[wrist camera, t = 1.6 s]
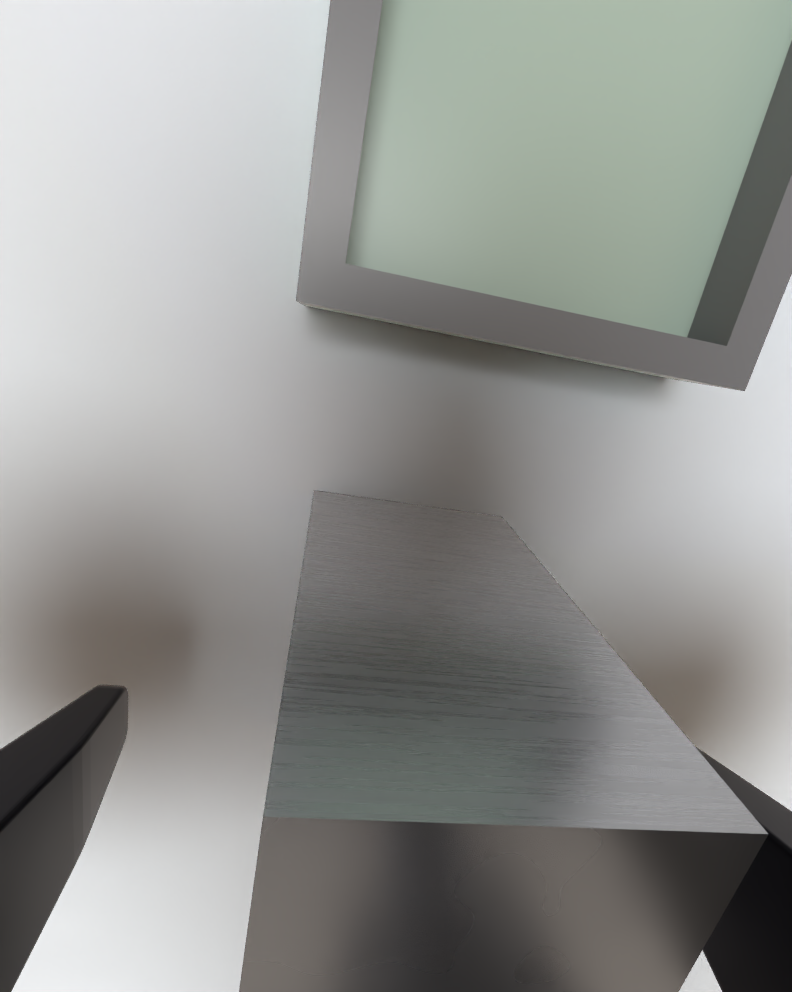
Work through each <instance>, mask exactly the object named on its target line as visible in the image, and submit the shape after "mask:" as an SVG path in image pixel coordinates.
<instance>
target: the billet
mask: <svg viewBox="0 0 792 992" xmlns="http://www.w3.org/2000/svg"><path fill="white" fill-rule="evenodd" d="M767 836H768V833H767V832H766V831H765V829H764V828H763V827H762V826H761V825H760V823H759V822H758V821H757V820H756V819H755V818H754V816H753V815H752V814H751V813H750V812H749V810H748V809H747V808H746V807H745V806H744V804H743V803H742V802H741V801H740V800H739V798H738V797H737V796H736V795H735V794H734V793H733V791H732V790H731V789H730V788H729V787H728V785H727V784H726V783H725V782H724V781H723V779H722V778H721V777H720V776H719V775H718V773H717V772H716V771H715V770H714V769H713V767H712V766H711V765H710V764H709V763H708V762H707V760H706V759H705V758H704V757H703V756H702V754H701V753H700V752H699V751H698V750H697V748H696V747H695V746H694V745H693V744H692V742H691V741H690V740H689V739H688V738H687V737H686V735H685V734H684V733H683V732H682V731H681V729H680V728H679V727H678V726H677V725H676V723H675V722H674V721H673V720H672V719H671V717H670V716H669V715H668V714H667V713H666V712H665V710H664V709H663V708H662V707H661V706H660V704H659V703H658V702H657V701H656V700H655V698H654V697H653V696H652V695H651V694H650V692H649V691H648V690H647V689H646V688H645V686H644V685H643V684H642V683H641V682H640V681H639V679H638V678H637V677H636V676H635V675H634V673H633V672H632V671H631V670H630V669H629V667H628V666H627V665H626V664H625V663H624V661H623V660H622V659H621V658H620V657H619V656H618V654H617V653H616V652H615V651H614V650H613V648H612V647H611V646H610V645H609V644H608V642H607V641H606V640H605V639H604V638H603V636H602V635H601V634H600V633H599V632H598V631H597V629H596V628H595V627H594V626H593V625H592V623H591V622H590V621H589V620H588V619H587V617H586V616H585V615H584V614H583V613H582V611H581V610H580V609H579V608H578V607H577V605H576V604H575V603H574V602H573V601H572V600H571V598H570V597H569V596H568V595H567V594H566V592H565V591H564V590H563V589H562V588H561V586H560V585H559V584H558V583H557V582H556V580H555V579H554V578H553V577H552V576H551V575H550V573H549V572H548V571H547V570H546V569H545V567H544V566H543V565H542V564H541V563H540V561H539V560H538V559H537V558H536V557H535V555H534V554H533V553H532V552H531V551H530V550H529V548H528V547H527V546H526V545H525V544H524V542H523V541H522V540H521V539H520V538H519V536H518V535H517V534H516V533H515V532H514V530H513V529H512V528H511V527H510V526H509V524H508V523H507V522H506V521H505V520H504V519H503V517H500V516H493V515H486V514H479V513H472V512H465V511H458V510H451V509H444V508H436V507H429V506H422V505H415V504H408V503H401V502H394V501H387V500H380V499H372V498H365V497H358V496H351V495H344V494H337V493H330V492H323V491H316V490H314V494H313V500H312V507H311V513H310V519H309V526H308V532H307V539H306V545H305V551H304V558H303V564H302V571H301V577H300V584H299V590H298V596H297V603H296V609H295V616H294V622H293V628H292V635H291V641H290V648H289V654H288V661H287V667H286V673H285V680H284V686H283V693H282V699H281V705H280V712H279V718H278V725H277V731H276V737H275V744H274V750H273V757H272V763H271V770H270V776H269V782H268V789H267V795H266V802H265V808H264V814H263V821H262V829H261V836H260V843H259V851H258V858H257V865H256V872H255V880H254V887H253V894H252V902H251V909H250V916H249V923H248V931H247V938H246V945H245V953H244V960H243V967H242V974H241V982H240V989H239V992H678V991H679V990H680V988H681V986H682V984H683V983H684V981H685V979H686V977H687V976H688V974H689V972H690V970H691V969H692V967H693V965H694V963H695V962H696V960H697V958H698V956H699V955H700V953H701V951H702V949H703V948H704V946H705V944H706V942H707V941H708V939H709V937H710V936H711V934H712V932H713V930H714V929H715V927H716V925H717V923H718V922H719V920H720V918H721V916H722V915H723V913H724V911H725V909H726V908H727V906H728V904H729V902H730V901H731V899H732V897H733V895H734V894H735V892H736V890H737V888H738V887H739V885H740V883H741V881H742V880H743V878H744V876H745V874H746V873H747V871H748V869H749V867H750V866H751V864H752V862H753V860H754V859H755V857H756V855H757V853H758V852H759V850H760V848H761V846H762V845H763V843H764V841H765V839H766V838H767Z"/></svg>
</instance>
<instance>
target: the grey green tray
mask: <svg viewBox="0 0 792 992" xmlns="http://www.w3.org/2000/svg"><path fill="white" fill-rule="evenodd" d="M791 274H792V0H331V1H330V10H329V19H328V27H327V36H326V45H325V53H324V62H323V71H322V79H321V88H320V97H319V105H318V114H317V123H316V131H315V140H314V149H313V157H312V166H311V175H310V183H309V192H308V201H307V210H306V218H305V227H304V236H303V244H302V253H301V262H300V270H299V279H298V288H297V296H296V301H297V302H299V303H301V304H303V305H305V306H309V307H314V308H319V309H324V310H329V311H334V312H339V313H344V314H349V315H354V316H359V317H364V318H369V319H374V320H379V321H384V322H389V323H394V324H399V325H404V326H409V327H414V328H419V329H424V330H429V331H434V332H439V333H444V334H449V335H454V336H459V337H464V338H469V339H474V340H479V341H484V342H489V343H494V344H499V345H504V346H509V347H514V348H519V349H524V350H529V351H534V352H539V353H543V354H548V355H553V356H558V357H563V358H568V359H573V360H578V361H583V362H588V363H593V364H598V365H603V366H608V367H613V368H618V369H623V370H628V371H633V372H638V373H643V374H648V375H653V376H658V377H663V378H669V379H675V380H681V381H687V382H693V383H699V384H705V385H711V386H717V387H723V388H729V389H735V390H741V391H745V389H746V387H747V384H748V382H749V379H750V377H751V374H752V372H753V369H754V367H755V364H756V362H757V359H758V357H759V354H760V352H761V349H762V347H763V344H764V342H765V339H766V337H767V334H768V332H769V329H770V327H771V324H772V322H773V319H774V317H775V314H776V312H777V309H778V307H779V304H780V302H781V299H782V297H783V294H784V292H785V289H786V287H787V284H788V282H789V279H790V277H791Z"/></svg>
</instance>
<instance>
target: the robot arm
mask: <svg viewBox="0 0 792 992" xmlns="http://www.w3.org/2000/svg"><path fill="white" fill-rule="evenodd" d="M127 728H128V691H127V689H126V688H125V687H124V686H114V685H99V686H96V687H94V688H93V689H91V690H90V691H88V692H87V693H85V694H84V695H82V696H81V697H79V698H78V699H76V700H75V701H73V702H71V703H70V704H68V705H67V706H65V707H64V708H62V709H61V710H59V711H58V712H56V713H55V714H53V715H52V716H50V717H49V718H47V719H46V720H44V721H43V722H41V723H40V724H38V725H36V726H35V727H33V728H32V729H30V730H29V731H27V732H26V733H24V734H23V735H21V736H20V737H18V738H17V739H15V740H14V741H12V742H11V743H9V744H8V745H6V746H5V747H3V748H2V749H0V992H11V991H12V989H13V987H14V985H15V983H16V981H17V979H18V977H19V975H20V973H21V972H22V970H23V968H24V966H25V964H26V962H27V960H28V958H29V956H30V954H31V952H32V950H33V948H34V946H35V944H36V942H37V940H38V938H39V936H40V934H41V932H42V930H43V928H44V926H45V924H46V922H47V920H48V918H49V916H50V914H51V912H52V910H53V908H54V906H55V904H56V902H57V900H58V898H59V896H60V894H61V892H62V890H63V888H64V886H65V884H66V882H67V880H68V878H69V876H70V874H71V872H72V870H73V868H74V866H75V864H76V862H77V860H78V858H79V856H80V854H81V852H82V849H83V847H84V845H85V842H86V840H87V838H88V835H89V833H90V830H91V828H92V825H93V822H94V820H95V817H96V815H97V812H98V810H99V807H100V804H101V802H102V799H103V797H104V794H105V791H106V789H107V786H108V784H109V781H110V779H111V776H112V773H113V771H114V768H115V766H116V763H117V760H118V758H119V755H120V753H121V750H122V748H123V745H124V742H125V739H126V734H127ZM696 748H697V747H696ZM697 750H698V751H699V752H700V753H701V754H702V756H703V757H704V758H705V759H706V760H707V762H708V763H709V764H710V765H711V766H712V767H713V769H714V770H715V771H716V772H717V773H718V775H719V776H720V777H721V778H722V779H723V781H724V782H725V783H726V784H727V785H728V787H729V788H730V789H731V790H732V791H733V793H734V794H735V795H736V796H737V797H738V798H739V800H740V801H741V802H742V803H743V804H744V806H745V807H746V808H747V809H748V810H749V812H750V813H751V814H752V815H753V816H754V818H755V819H756V820H757V821H758V822H759V823H760V825H761V826H762V827H763V828H764V829H765V831H766V832H767V833H768V836H767V838H766V839H765V841H764V843H763V845H762V846H761V848H760V850H759V852H758V853H757V855H756V857H755V859H754V860H753V862H752V864H751V866H750V867H749V869H748V871H747V873H746V874H745V876H744V878H743V880H742V881H741V883H740V885H739V887H738V888H737V890H736V892H735V894H734V895H733V897H732V899H731V901H730V902H729V904H728V906H727V908H726V909H725V911H724V913H723V915H722V916H721V918H720V920H719V922H718V923H717V925H716V927H715V929H714V930H713V932H712V934H711V936H710V937H709V939H708V941H707V942H706V944H705V946H704V948H703V949H702V950H703V952H704V954H705V956H706V958H707V960H708V962H709V965H710V967H711V969H712V971H713V973H714V975H715V977H716V979H717V981H718V984H719V986H720V988H721V990H722V992H792V811H790V810H789V809H787V808H786V807H784V806H783V805H781V804H780V803H778V802H777V801H775V800H774V799H772V798H771V797H769V796H768V795H766V794H765V793H763V792H762V791H760V790H759V789H757V788H756V787H754V786H753V785H752V784H750V783H749V782H747V781H746V780H744V779H743V778H741V777H740V776H738V775H737V774H735V773H734V772H732V771H731V770H729V769H728V768H726V767H725V766H723V765H722V764H720V763H719V762H717V761H716V760H714V759H713V758H711V757H710V756H708V755H707V754H705V753H704V752H702V751H701V750H699V749H698V748H697Z"/></svg>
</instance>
